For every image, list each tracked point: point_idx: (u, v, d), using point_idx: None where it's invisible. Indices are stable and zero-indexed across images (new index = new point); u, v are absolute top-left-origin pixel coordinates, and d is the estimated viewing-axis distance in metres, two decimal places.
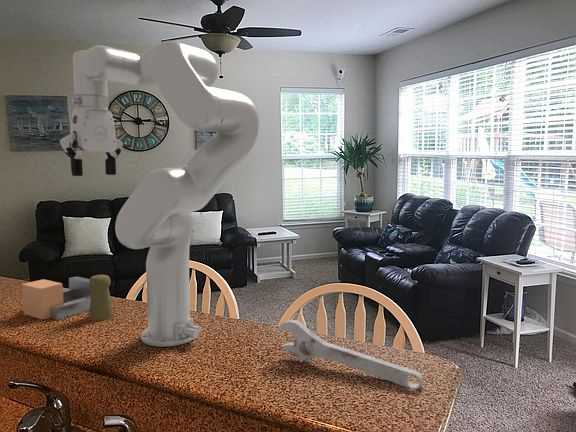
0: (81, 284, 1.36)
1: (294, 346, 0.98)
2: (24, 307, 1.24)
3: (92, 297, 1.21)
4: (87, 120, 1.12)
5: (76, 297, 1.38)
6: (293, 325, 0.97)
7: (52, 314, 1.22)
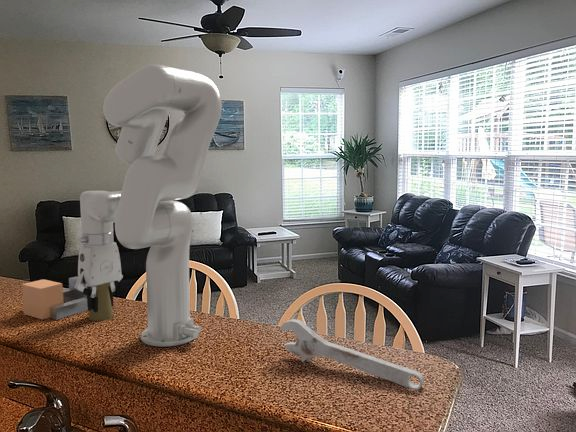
0: None
1: (296, 345, 0.98)
2: (24, 307, 1.24)
3: None
4: (94, 258, 1.17)
5: (76, 297, 1.38)
6: (295, 325, 0.97)
7: (52, 314, 1.22)
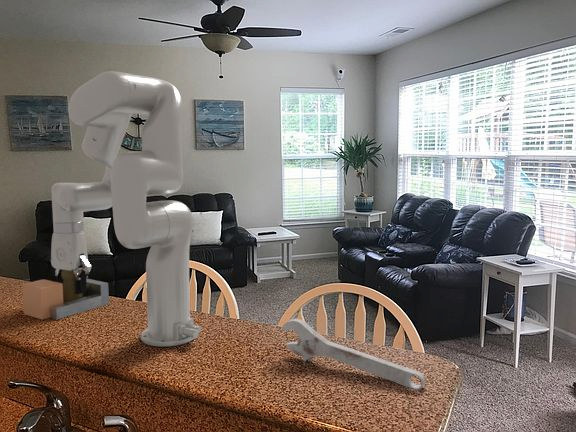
0: None
1: (298, 345, 0.98)
2: (24, 307, 1.24)
3: None
4: (53, 243, 1.30)
5: None
6: (297, 324, 0.98)
7: (52, 314, 1.22)
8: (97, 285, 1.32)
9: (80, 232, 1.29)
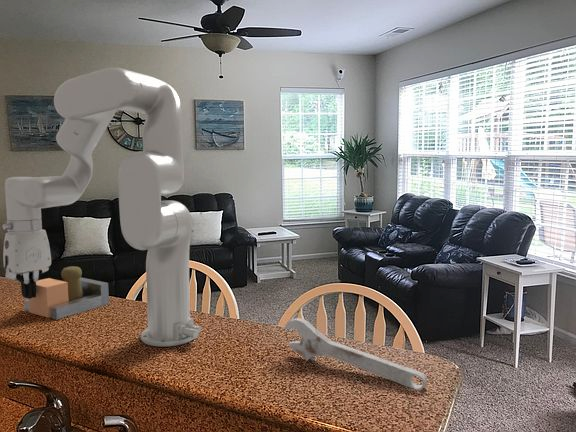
0: (81, 284, 1.36)
1: (300, 344, 0.99)
2: (30, 305, 1.26)
3: None
4: (19, 245, 1.16)
5: None
6: (299, 324, 0.98)
7: (52, 314, 1.22)
8: (97, 285, 1.32)
9: None
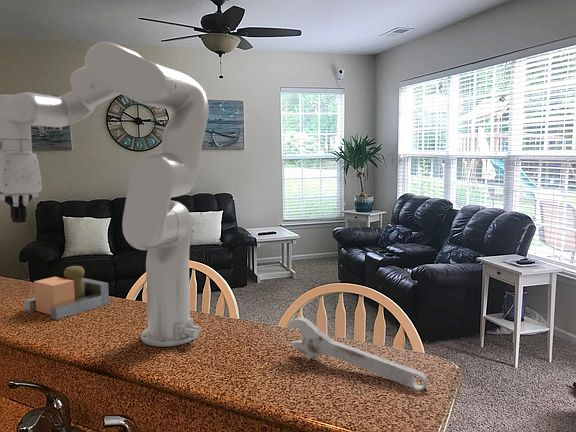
0: None
1: (302, 343, 0.99)
2: (36, 304, 1.27)
3: None
4: (7, 164, 1.12)
5: None
6: (301, 323, 0.98)
7: (52, 314, 1.22)
8: (97, 285, 1.32)
9: None
